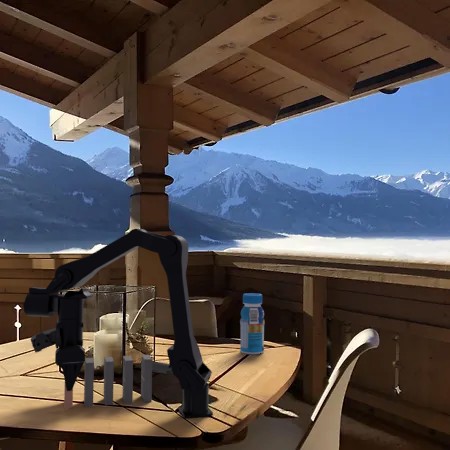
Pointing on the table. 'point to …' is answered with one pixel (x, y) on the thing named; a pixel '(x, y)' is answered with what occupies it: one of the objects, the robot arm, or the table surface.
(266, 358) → the table surface
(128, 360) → the domino
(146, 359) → the domino
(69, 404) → the domino
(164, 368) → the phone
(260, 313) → the beverage bottle
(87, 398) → the domino
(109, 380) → the domino
